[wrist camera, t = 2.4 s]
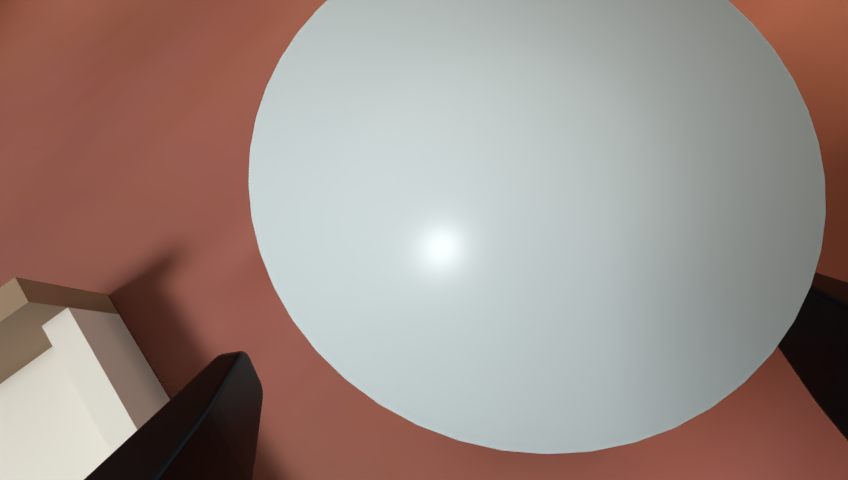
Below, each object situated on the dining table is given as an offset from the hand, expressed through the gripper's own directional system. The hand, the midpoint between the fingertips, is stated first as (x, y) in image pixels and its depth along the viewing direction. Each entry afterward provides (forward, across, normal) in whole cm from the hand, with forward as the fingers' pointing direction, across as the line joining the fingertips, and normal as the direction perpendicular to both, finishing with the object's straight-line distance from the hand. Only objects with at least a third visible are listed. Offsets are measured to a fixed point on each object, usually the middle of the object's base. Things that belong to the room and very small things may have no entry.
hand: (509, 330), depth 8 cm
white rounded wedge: (+8, 0, +6) cm, 10 cm away
